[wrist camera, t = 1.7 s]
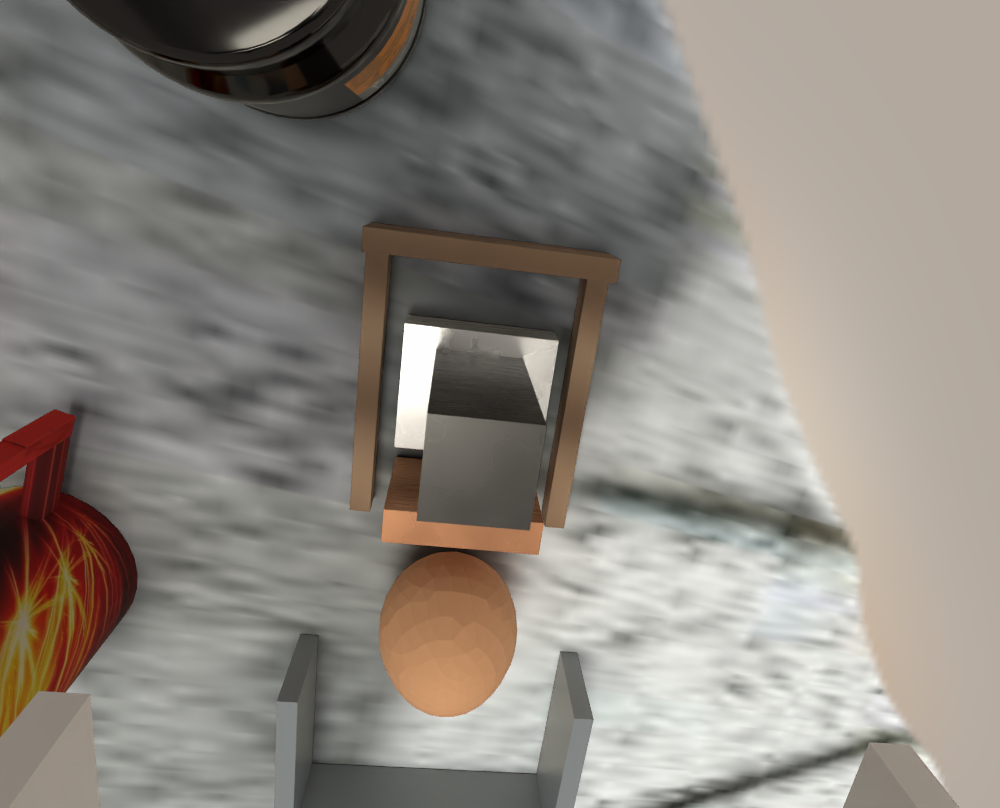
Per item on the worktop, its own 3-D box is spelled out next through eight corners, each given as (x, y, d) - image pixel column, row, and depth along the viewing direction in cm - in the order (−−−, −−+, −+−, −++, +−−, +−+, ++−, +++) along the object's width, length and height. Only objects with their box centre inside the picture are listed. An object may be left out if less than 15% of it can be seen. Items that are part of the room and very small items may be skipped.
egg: (519, 530, 35) (538, 640, 27) (500, 632, 38) (512, 764, 29) (395, 516, 35) (374, 626, 26) (382, 621, 37) (360, 754, 28)
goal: (300, 634, 37) (277, 701, 32) (576, 652, 38) (593, 719, 34) (295, 774, 40) (272, 854, 35) (549, 786, 42) (561, 864, 37)
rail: (372, 222, 30) (362, 226, 27) (606, 252, 31) (621, 259, 28) (354, 496, 34) (344, 524, 31) (559, 514, 35) (568, 543, 32)
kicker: (408, 314, 31) (383, 379, 21) (552, 331, 32) (595, 402, 22) (393, 484, 34) (365, 613, 24) (526, 497, 34) (553, 627, 24)
